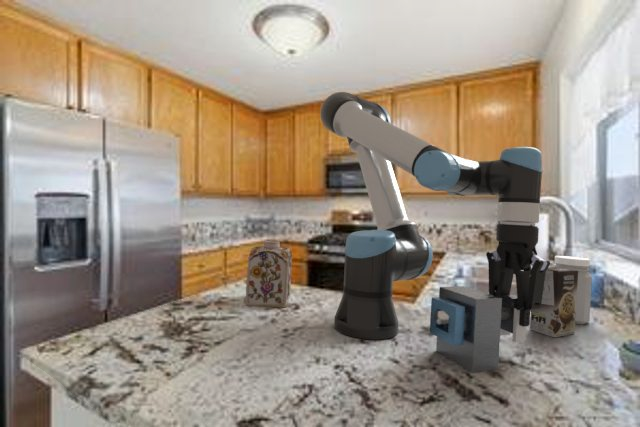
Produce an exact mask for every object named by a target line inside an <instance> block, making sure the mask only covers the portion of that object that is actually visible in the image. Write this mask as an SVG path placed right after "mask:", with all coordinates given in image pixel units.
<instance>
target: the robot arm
mask: <svg viewBox="0 0 640 427" xmlns="http://www.w3.org/2000/svg"><path fill="white" fill-rule="evenodd" d="M319 114H320V120H321V123H322V125H323V126H324V127H325V129H327V130H328V131H329V132H331V133H334V134H335V135H337V136H339V137H341V138H347V142H348V145H349V148H350V150H351V151H352V152H354V153H356V156H357V159H358V162H359V163H358V164H359V167H360V169H361V173H362V176H363V181H364V183H365V184H364V185H365V187H366V191H367V194H368V198H369V201H370V206H371V209H372V213H373V215H374V220H375V223H376V227H377V229H371V230H365V229H364V230H359V231H358V230H357V231H354V232H351V233H349V234H348V235H347V237H346V239H345V240H346V242H345V248H344V268H343V270H344V273H343V290H342V291H343V292H342V296H341V299H340V302H339V304H338V307H337V309H336V313H335V315H334V322H333V323H334V324H333V327H334V329H335V330H336V331H337V332H339V333H341V334H343V335H346V336H347V337H352V338H356V339H361V340H386V339H391V338H394V337H395V336H397V335H398V334H399V320H398V316H397V312H396V309H395V305H394V301H393V290H394V287H393V286H394V282H398V281H399V282H401V281H405V280H406V281H411V280H413V279H416V278H419V277H421V276H423V275H425V274H426V273H427V272H428V271H429V270H430V267H431V266H432V263H433V258H434V252H433V248H432V244H430V241H429V240H428V239H426V238H425V237H424V236H422V235H420V233H419V230H418V226H417V223H416V222H414V221H412V220H409V218H408V215H407V211H406V208H405V204H404V202H403V197H402V194H401V191H400V187H399V185H398V181H397V179H396V175H395V171H394V169H393V165H395V166H397V167H398V168H400V169H402V170H403V171H405V172H406V173H408V174H410V175H411V176H413V177H414V178H416V179H415V180H416V181H417V182H418V184H420V186H422V187H425V188H426V189H429V190H431V191H435V192H446V193H447V194H448V195H452V196H461V197H465V196H498V200H497V203H498V204H497V218H496V220H497V222H500V223H498V224H497V226H496V236H495V237H496V238H495V239H496V241H497V242H498V245H497V247H496V250H493V251H487V252H485V253H486V254H485V255H486V259H487V263H488V292H489V294H490V295H493V296H497V297H500V298H502V295H511V290H512V283H513V280H514V275H515V284H516V287H515V288H516V296H517V300H518V307H515V308H514V321H513V333H512V339H511V340H512V341H513V342H515V343H520V342H526V341H527V340H526V339H527V328H528V327H530V318H531V310H532V309H539V308H541V303H542V295H543V288H544V281H545V274H546V271H547V269H548V267H549V266H550V264H551V262H550V260H549V259H543V258H542V257H540V255H538V252H537V249H536V248H537V244H538V242H539V233H540V232H539V231H540V228H539V227H538V226H537V225H536V224H539V222H540V212H541V211H540V210H541V208H540V207H541V191H542V180H543V171H544V170H543V155H542V153H543V152H541V150H539V149H538V148H536V147H531V146H530V147H528V146H522V147H521V146H519V147H518V146H517V147H515V146H514V147H510V148H506V149H502V151H501V152H500V157H499V159H496V160H495V159H494V160H483V161H481V160H480V161H474V160H472V159H471V160H470V159H468V158H464V157H460V156H457V155H455V154H451V153H450V152H448V151H445V150H443V149H441V148H439V146H435V145H433V144H432V143H430V142H427V141H425V140H424V139H422V138H419V137H418V136H415V135H413V134H412V133H409V132H408V131H406V130H403V129H402V128H399V127H397V126H395V125H394V124H392V123H391V118H390V115H389V113H388V111H387V109H386V108H384V106H381V105H379V103H377V102H375V101H370V100H368V99H365V98H362V97H360V96H357V95H355V94H353V93H350V92H346V91H345V92H344V91H338V92H334V93H332V94H330V95H328V96H327V98H325V100H324V101H323V102H322V104H321V107H320V112H319ZM392 164H393V165H392ZM495 291H496V292H495ZM508 335H509V336H510V335H511V333H510V332H508V331H505V330H503V329H500V336H508Z"/></svg>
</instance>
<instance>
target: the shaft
mask: <svg viewBox="0 0 640 427" xmlns="http://www.w3.org/2000/svg"><path fill="white" fill-rule="evenodd" d="M515 307H518V300H517V294H516V295H515V294H510V295H502V308H501V326H500V329H503V330H505V331H508V332H510V334H513V321H514V308H515ZM434 319H435V322H436V323H437V324H449V313H446V312H444V311H436V312H435V313H434Z"/></svg>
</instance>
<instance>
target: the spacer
mask: <svg viewBox="0 0 640 427" xmlns="http://www.w3.org/2000/svg"><path fill="white" fill-rule="evenodd" d="M430 304H431V305H430V318H429V319H430V322H429V333H430V334H431V335H434V336H435V337H436V338H437V337H439V338H441V339H443V340H444V341H446V342H448V343H450V344H452V345H454V346H457V345H463V337H464V319H465V306H462V305H460V304H457V303H454V302H452V301H449V300H446V299H444V298H441V297H439V296H437V297H436V296H434V297H431V303H430ZM436 311H444V312H446V313H449V328H447V327H445V326H444V324H437V323H436V322H435V319H434V313H435V312H436Z"/></svg>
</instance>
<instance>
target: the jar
mask: <svg viewBox="0 0 640 427" xmlns="http://www.w3.org/2000/svg"><path fill="white" fill-rule="evenodd" d="M590 261H591V260H590V258H585V257H578V256H568V255H555V256H554V263H555V264H554V266H553V267H555V268H564V269H571V270H577V271H578V284H577V300H576V319H575V325H586V324H587V323H589V322H590V315H591V302H592V301H591V298H592V297H591V296H592V282H593V276H592V275H591V274H590V268H588V267H590Z"/></svg>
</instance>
